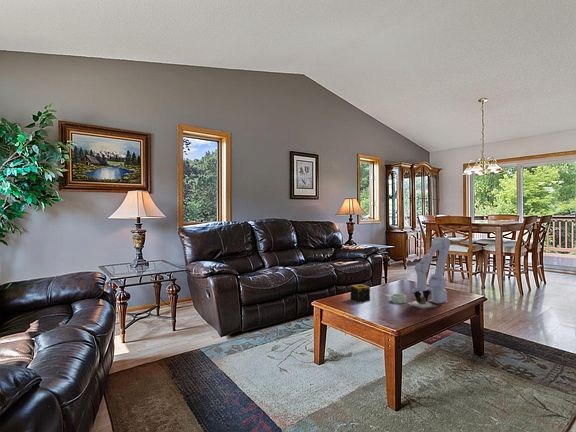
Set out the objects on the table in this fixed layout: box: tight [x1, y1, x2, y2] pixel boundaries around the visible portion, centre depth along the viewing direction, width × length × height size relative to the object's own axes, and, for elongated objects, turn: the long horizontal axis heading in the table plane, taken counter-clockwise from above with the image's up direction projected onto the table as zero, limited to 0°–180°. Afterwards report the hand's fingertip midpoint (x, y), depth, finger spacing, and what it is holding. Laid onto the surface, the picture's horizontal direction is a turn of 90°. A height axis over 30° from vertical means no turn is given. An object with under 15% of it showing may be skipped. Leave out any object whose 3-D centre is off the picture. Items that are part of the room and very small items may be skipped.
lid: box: [412, 296, 433, 308], centre depth 212 cm, size 12×12×5 cm
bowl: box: [390, 293, 407, 304], centre depth 220 cm, size 10×10×4 cm
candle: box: [350, 283, 371, 303], centre depth 227 cm, size 10×10×10 cm
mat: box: [406, 301, 438, 309], centre depth 212 cm, size 14×14×1 cm
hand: (422, 302), depth 212 cm, fingers open, 5 cm apart
